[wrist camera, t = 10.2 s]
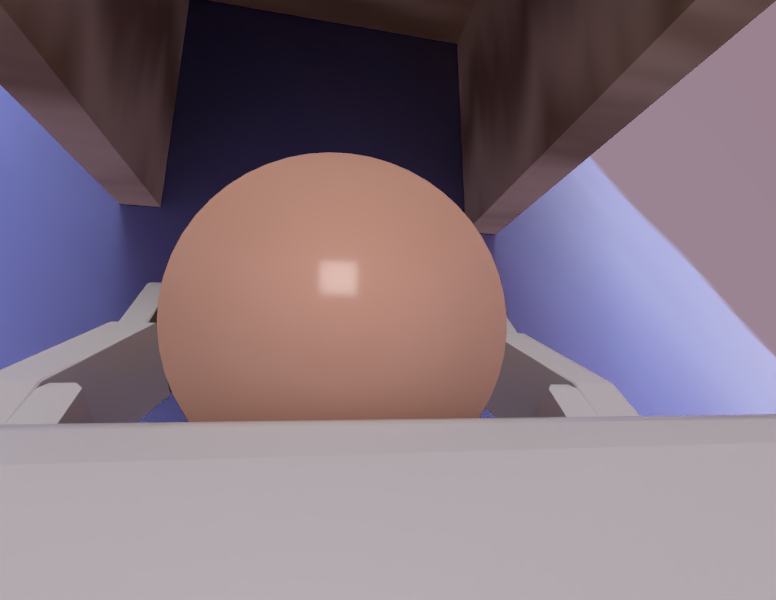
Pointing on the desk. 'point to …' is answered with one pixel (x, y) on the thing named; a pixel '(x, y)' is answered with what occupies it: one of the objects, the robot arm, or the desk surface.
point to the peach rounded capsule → (331, 299)
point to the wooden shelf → (385, 13)
